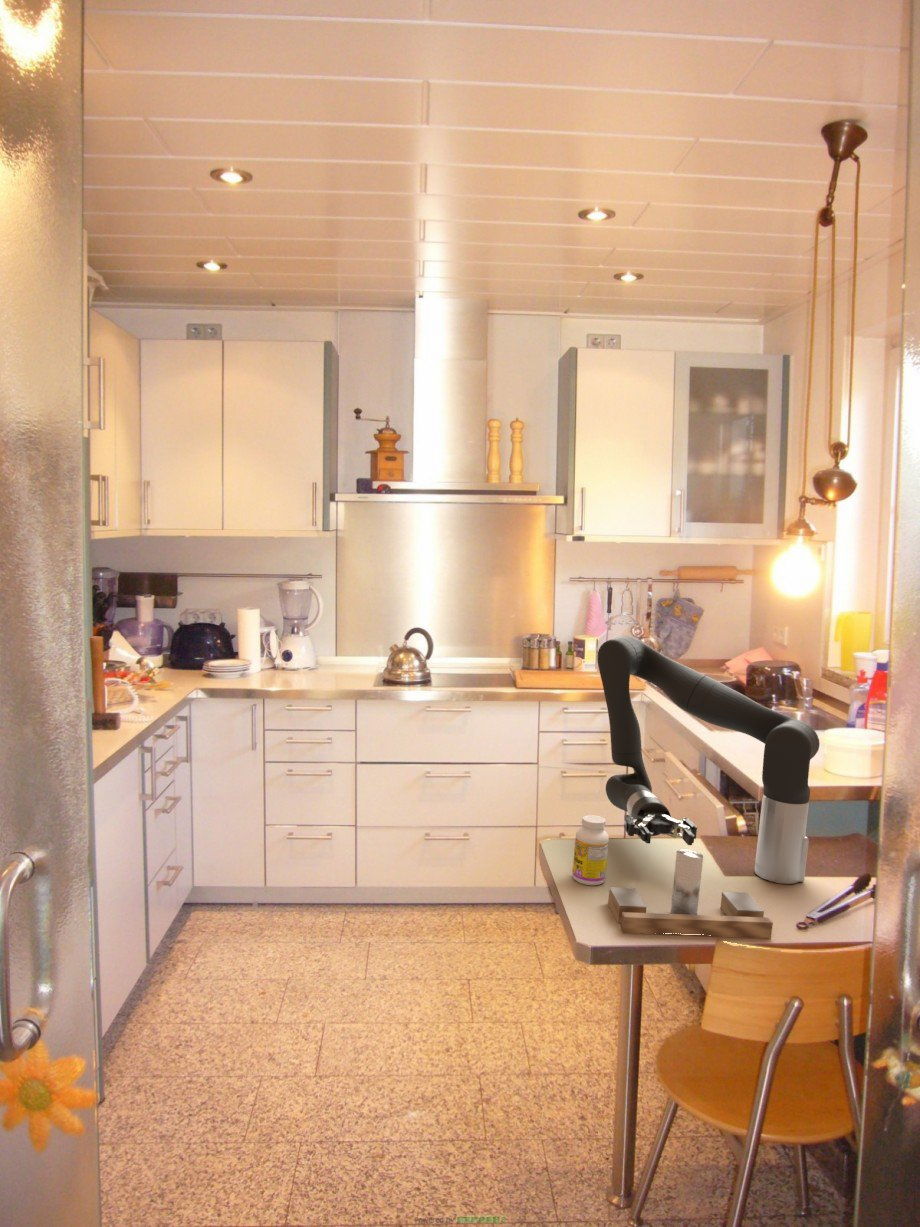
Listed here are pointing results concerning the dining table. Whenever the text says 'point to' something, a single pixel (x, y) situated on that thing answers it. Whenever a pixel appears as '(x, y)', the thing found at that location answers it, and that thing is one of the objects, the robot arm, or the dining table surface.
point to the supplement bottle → (591, 851)
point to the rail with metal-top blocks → (691, 917)
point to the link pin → (686, 882)
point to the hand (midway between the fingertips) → (670, 839)
